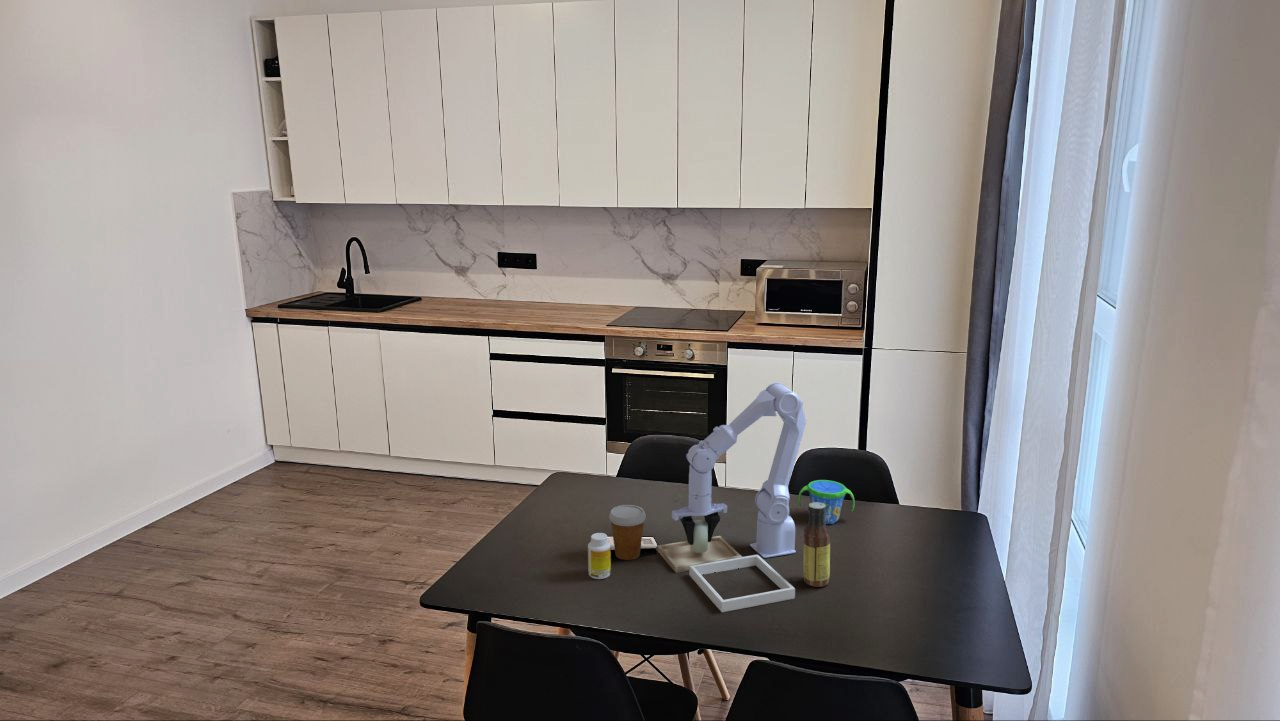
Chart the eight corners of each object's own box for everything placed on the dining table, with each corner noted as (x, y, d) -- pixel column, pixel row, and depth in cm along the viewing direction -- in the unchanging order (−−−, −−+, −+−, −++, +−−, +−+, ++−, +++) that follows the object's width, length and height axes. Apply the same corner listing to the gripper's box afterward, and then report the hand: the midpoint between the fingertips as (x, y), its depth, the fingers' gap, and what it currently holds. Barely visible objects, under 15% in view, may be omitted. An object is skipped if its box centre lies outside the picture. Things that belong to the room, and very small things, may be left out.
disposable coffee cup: (642, 564, 209) (642, 520, 207) (605, 561, 211) (604, 517, 208) (649, 548, 218) (649, 505, 216) (613, 545, 220) (613, 502, 218)
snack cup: (853, 515, 239) (856, 482, 237) (852, 530, 229) (855, 496, 227) (799, 509, 243) (800, 477, 241) (795, 524, 233) (797, 490, 231)
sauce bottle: (830, 578, 202) (834, 502, 198) (827, 590, 197) (831, 511, 192) (803, 574, 204) (807, 498, 200) (799, 585, 199) (803, 508, 194)
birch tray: (719, 540, 223) (720, 535, 222) (741, 561, 211) (741, 556, 210) (657, 550, 217) (657, 545, 217) (675, 573, 205) (676, 567, 205)
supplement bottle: (614, 576, 203) (614, 538, 201) (594, 582, 200) (593, 542, 198) (604, 567, 208) (604, 529, 206) (584, 572, 205) (583, 534, 203)
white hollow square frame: (757, 563, 210) (757, 554, 209) (794, 598, 193) (795, 588, 192) (689, 575, 204) (689, 565, 203) (721, 612, 187) (722, 602, 186)
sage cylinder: (705, 544, 216) (706, 519, 214) (709, 552, 212) (709, 526, 210) (689, 545, 215) (689, 520, 214) (692, 553, 211) (692, 527, 209)
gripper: (719, 483, 216) (718, 531, 219) (667, 490, 211) (667, 539, 214) (731, 492, 209) (729, 542, 213) (678, 500, 205) (677, 551, 208)
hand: (699, 541), depth 213 cm, fingers closed on sage cylinder, 4 cm apart
